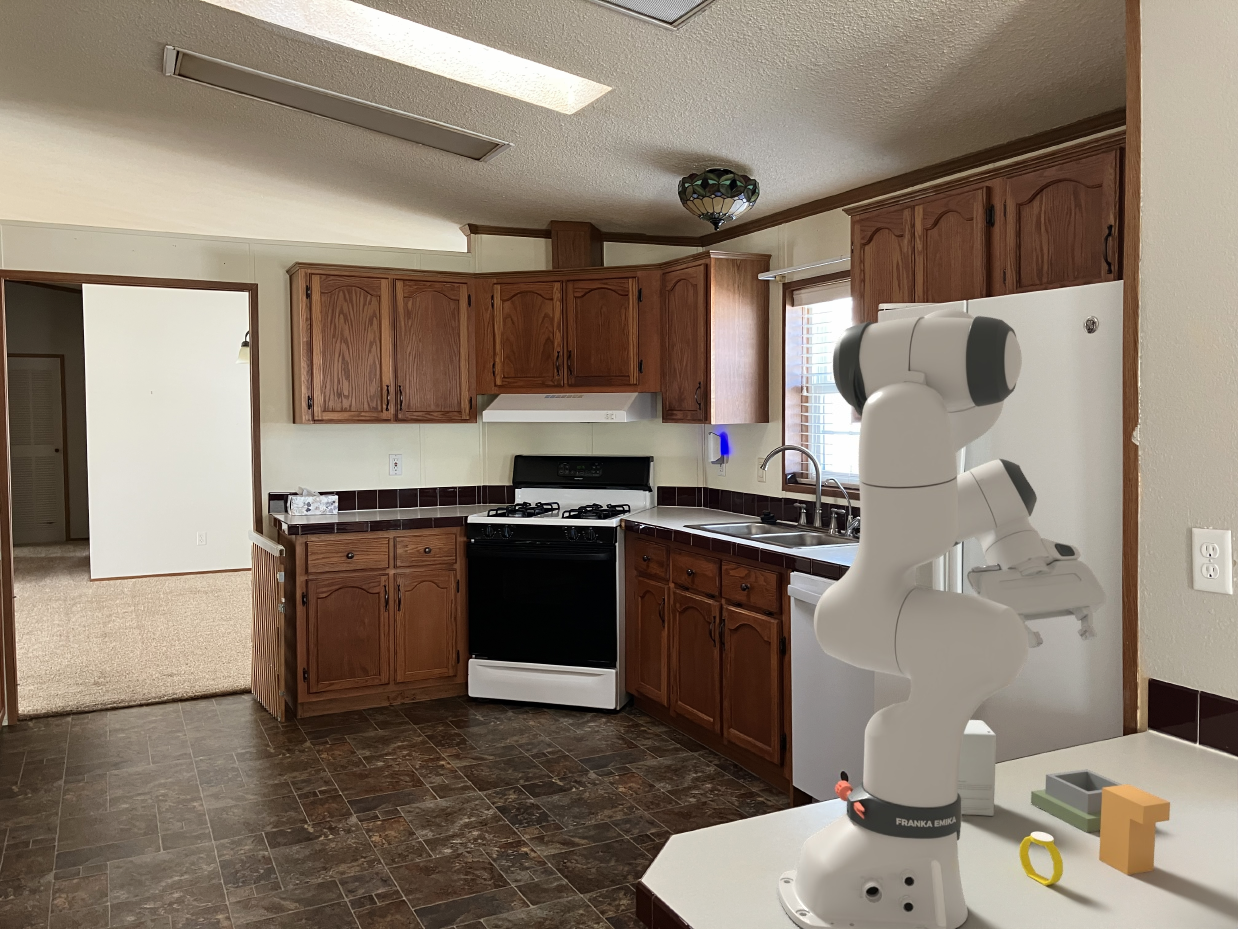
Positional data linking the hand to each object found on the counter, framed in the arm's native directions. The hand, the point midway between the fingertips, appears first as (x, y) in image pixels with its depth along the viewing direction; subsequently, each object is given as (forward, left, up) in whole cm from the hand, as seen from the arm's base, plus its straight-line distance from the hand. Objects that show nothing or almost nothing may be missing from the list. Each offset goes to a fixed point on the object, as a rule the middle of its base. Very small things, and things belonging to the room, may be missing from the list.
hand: (1064, 642), depth 141 cm
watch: (-11, -16, -28) cm, 34 cm away
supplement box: (-11, +8, -28) cm, 31 cm away
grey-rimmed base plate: (+7, +5, -28) cm, 29 cm away
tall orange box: (+3, -12, -28) cm, 30 cm away
